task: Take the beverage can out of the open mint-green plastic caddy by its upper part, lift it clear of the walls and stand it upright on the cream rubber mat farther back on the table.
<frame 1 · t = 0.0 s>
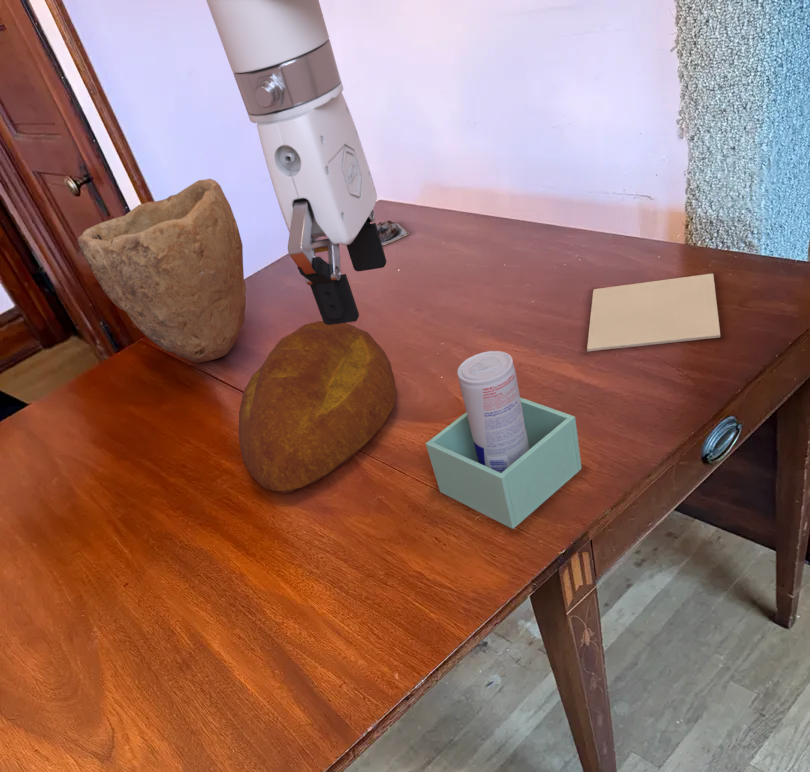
hand: (357, 293, 67), 25 cm above the table, tool pointing down, fingers open, 9 cm apart
beverage can: (509, 482, 83), resting in caddy
bread: (326, 423, 101), on the table
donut: (384, 237, 144), on the table
bowl: (218, 356, 125), on the table
caddy: (509, 480, 83), on the table
mat: (651, 312, 100), on the table
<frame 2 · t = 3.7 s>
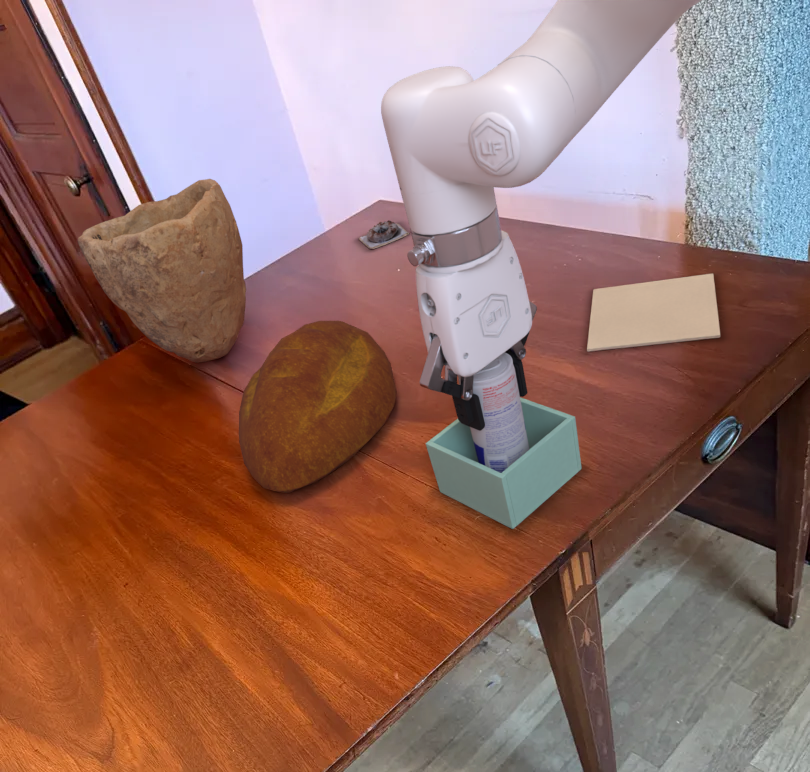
hand: (493, 407, 76), 10 cm above the table, tool pointing down, fingers closed on beverage can, 5 cm apart
beverage can: (509, 482, 83), resting in caddy, touching gripper
everything else where it was.
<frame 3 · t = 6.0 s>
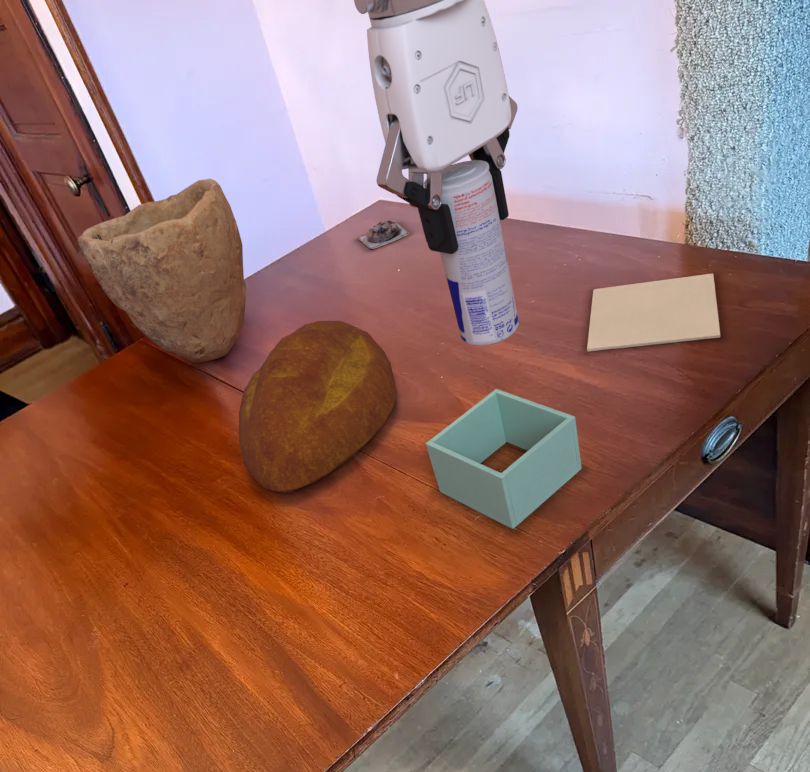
hand: (468, 231, 65), 28 cm above the table, tool pointing down, fingers closed on beverage can, 5 cm apart
beverage can: (491, 335, 71), point 18 cm above the table, touching gripper
everything else where it was.
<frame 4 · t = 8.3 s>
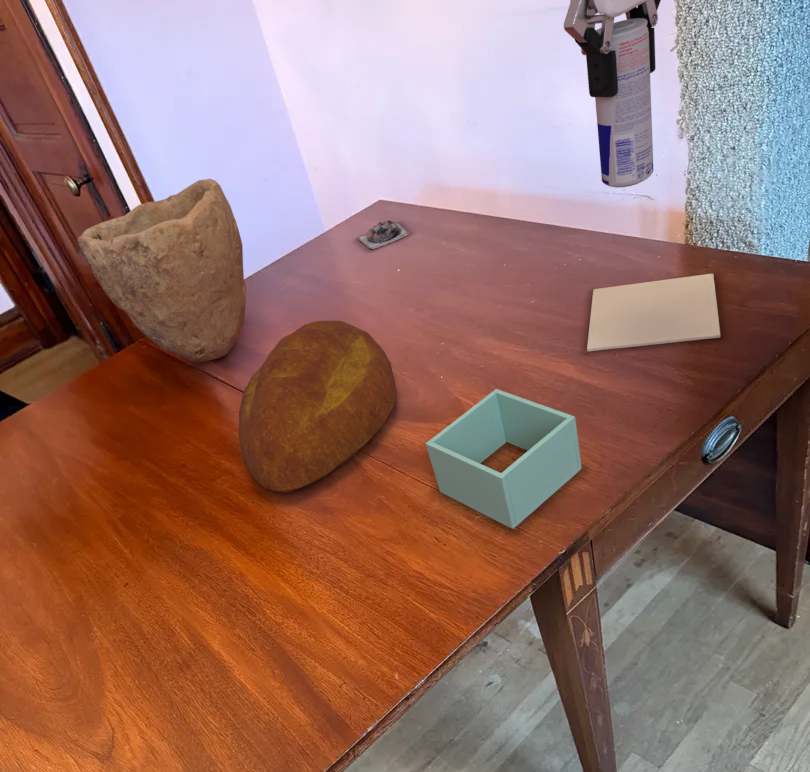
hand: (622, 82, 78), 29 cm above the table, tool pointing down, fingers closed on beverage can, 5 cm apart
beverage can: (627, 181, 85), point 19 cm above the table, touching gripper
everything else where it was.
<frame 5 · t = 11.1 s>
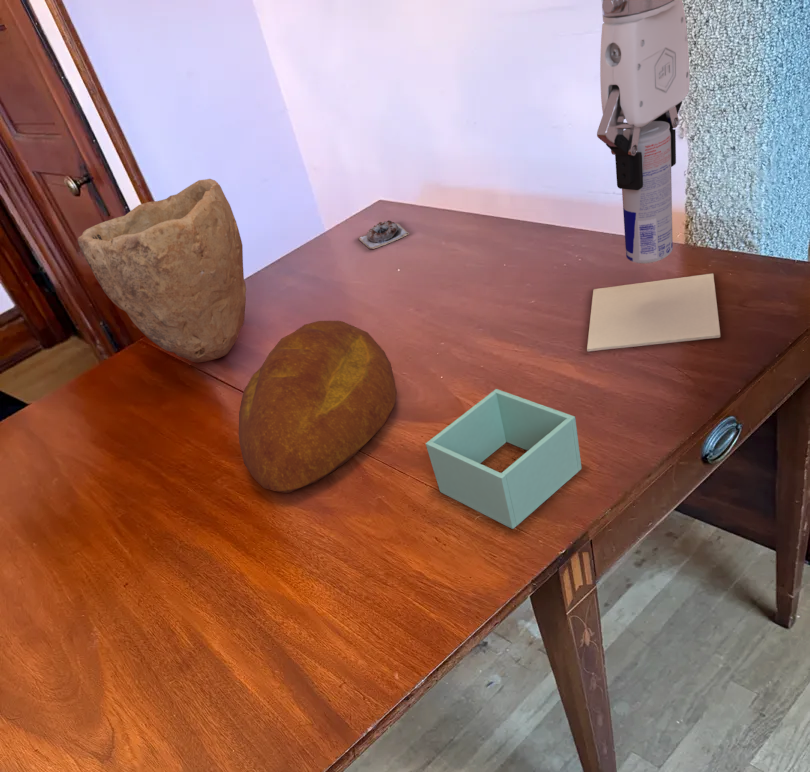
hand: (646, 175, 88), 18 cm above the table, tool pointing down, fingers closed on beverage can, 5 cm apart
beverage can: (649, 257, 95), point 8 cm above the table, touching gripper
everything else where it was.
when the fingers open (10 cm above the table, at t = 13.3 s): beverage can stays where it is, resting on mat.
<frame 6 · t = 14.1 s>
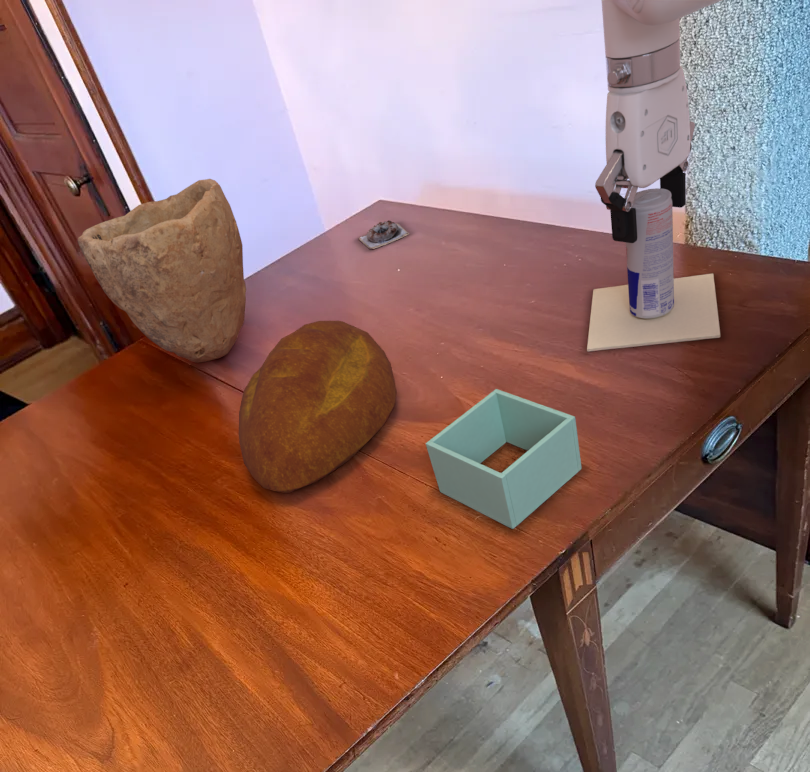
hand: (649, 223, 91), 12 cm above the table, tool pointing down, fingers open, 9 cm apart
beverage can: (651, 311, 100), resting on mat
everything else where it was.
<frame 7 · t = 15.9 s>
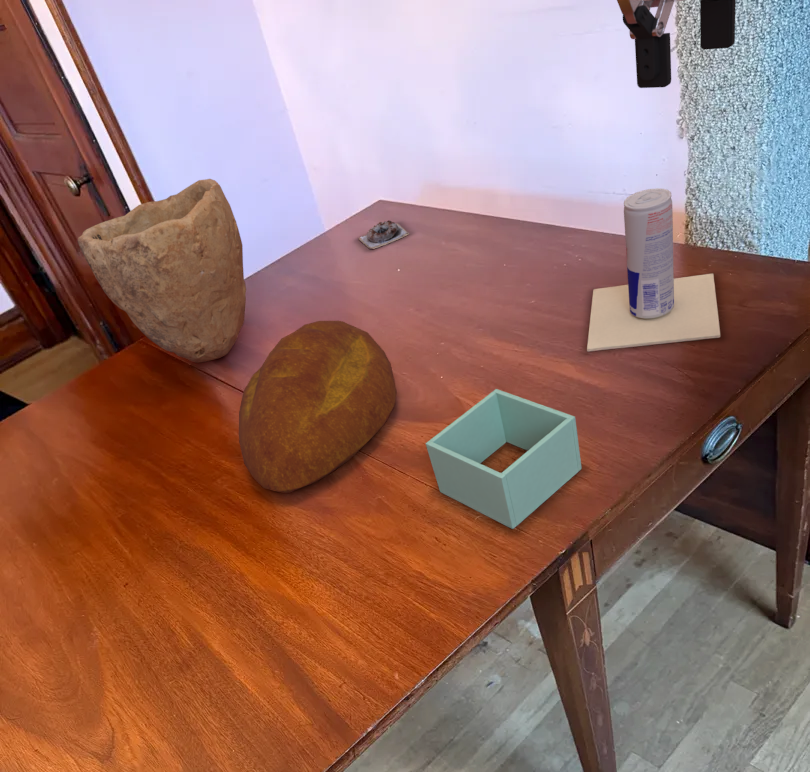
hand: (686, 66, 69), 32 cm above the table, tool pointing down, fingers open, 9 cm apart
nothing on the table moved.
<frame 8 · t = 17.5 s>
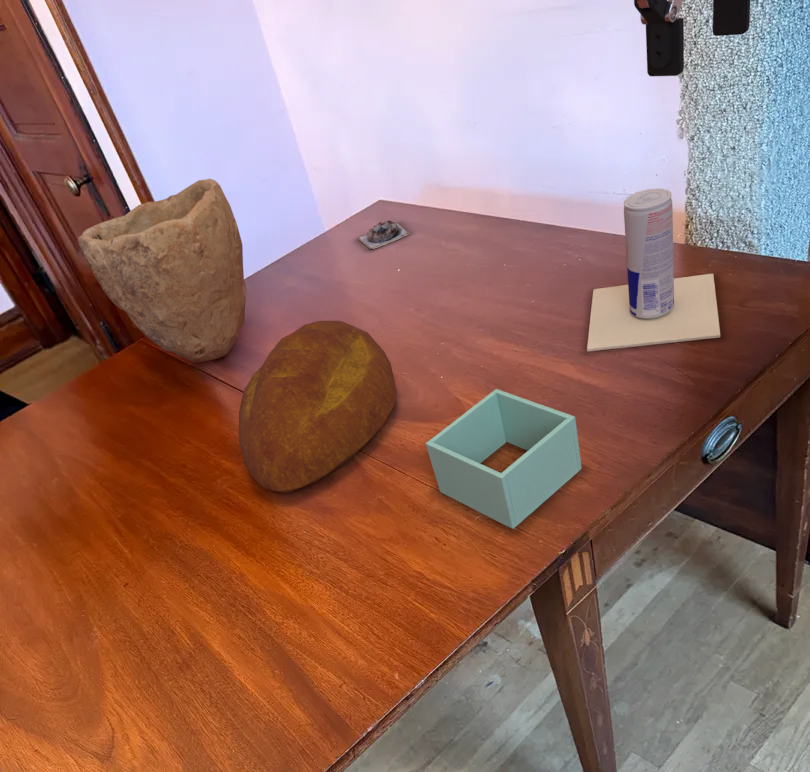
hand: (698, 53, 65), 33 cm above the table, tool pointing down, fingers open, 9 cm apart
nothing on the table moved.
at the end: beverage can inside the target area on the mat (0.1 cm from its centre), point 0.2 cm above the mat's base; beverage can tilted 0°; the gripper is holding nothing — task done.
